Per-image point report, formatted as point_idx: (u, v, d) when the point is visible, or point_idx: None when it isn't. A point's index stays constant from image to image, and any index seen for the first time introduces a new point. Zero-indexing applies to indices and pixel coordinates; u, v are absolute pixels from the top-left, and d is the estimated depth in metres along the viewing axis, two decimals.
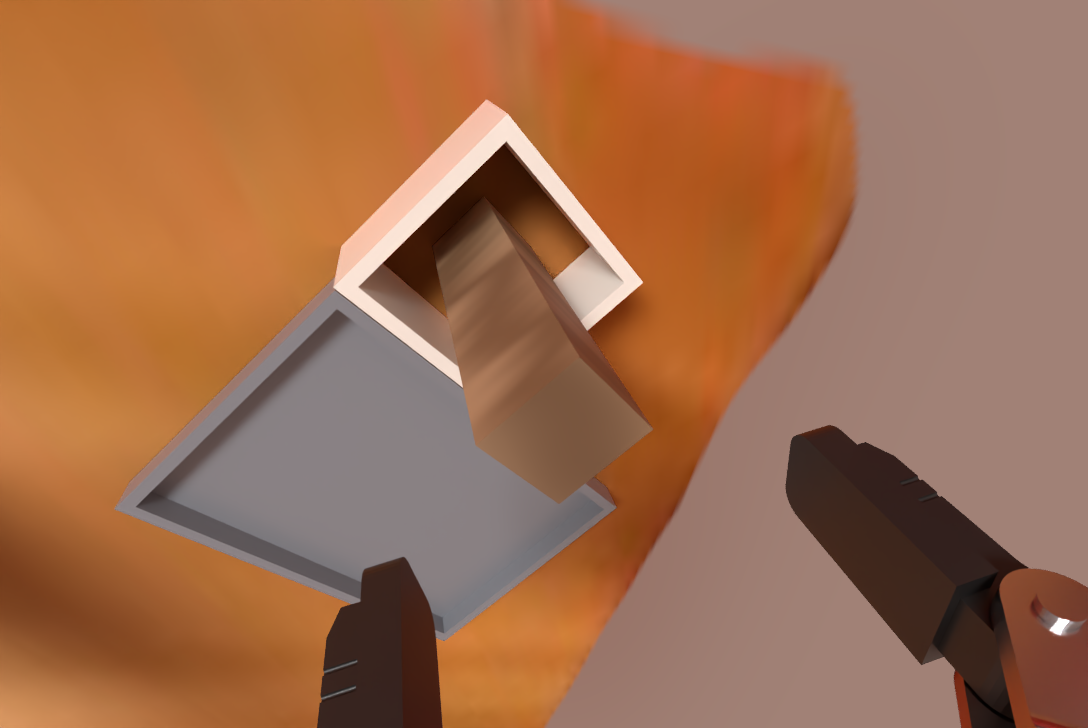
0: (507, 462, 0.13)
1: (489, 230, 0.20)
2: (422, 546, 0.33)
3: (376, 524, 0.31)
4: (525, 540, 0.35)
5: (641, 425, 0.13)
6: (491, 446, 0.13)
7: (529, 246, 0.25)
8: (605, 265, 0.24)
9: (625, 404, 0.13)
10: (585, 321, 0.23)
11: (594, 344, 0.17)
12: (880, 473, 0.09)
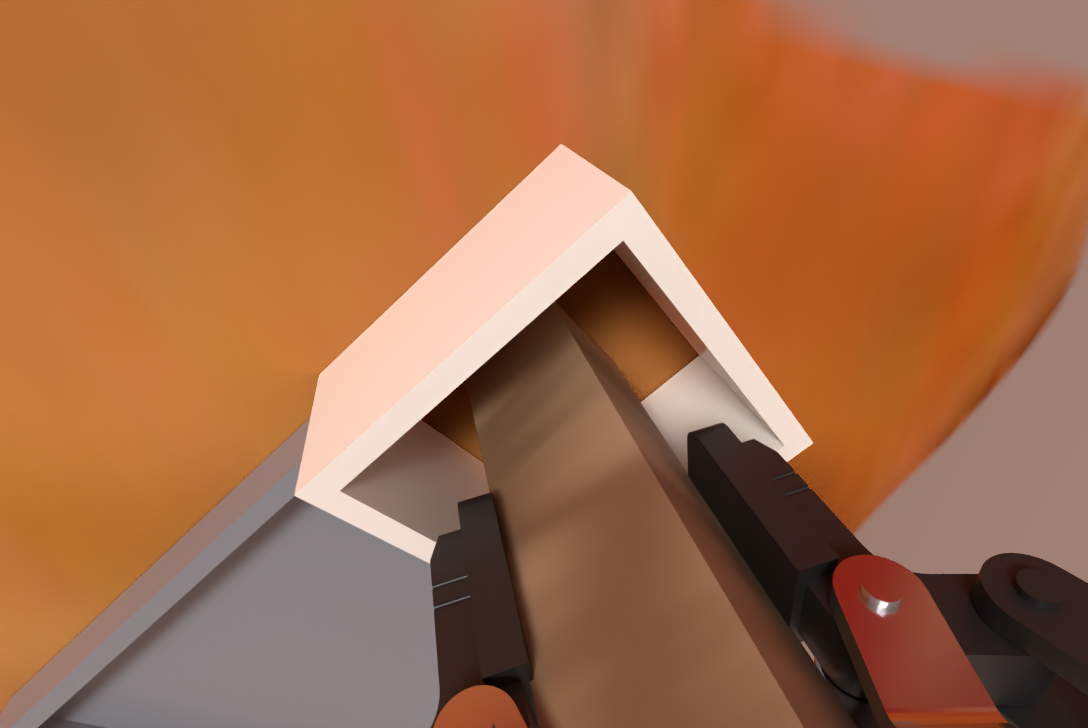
0: None
1: (571, 378, 0.12)
2: None
3: (376, 715, 0.22)
4: None
5: None
6: None
7: (613, 363, 0.16)
8: (736, 399, 0.15)
9: None
10: None
11: (824, 684, 0.08)
12: (754, 467, 0.10)
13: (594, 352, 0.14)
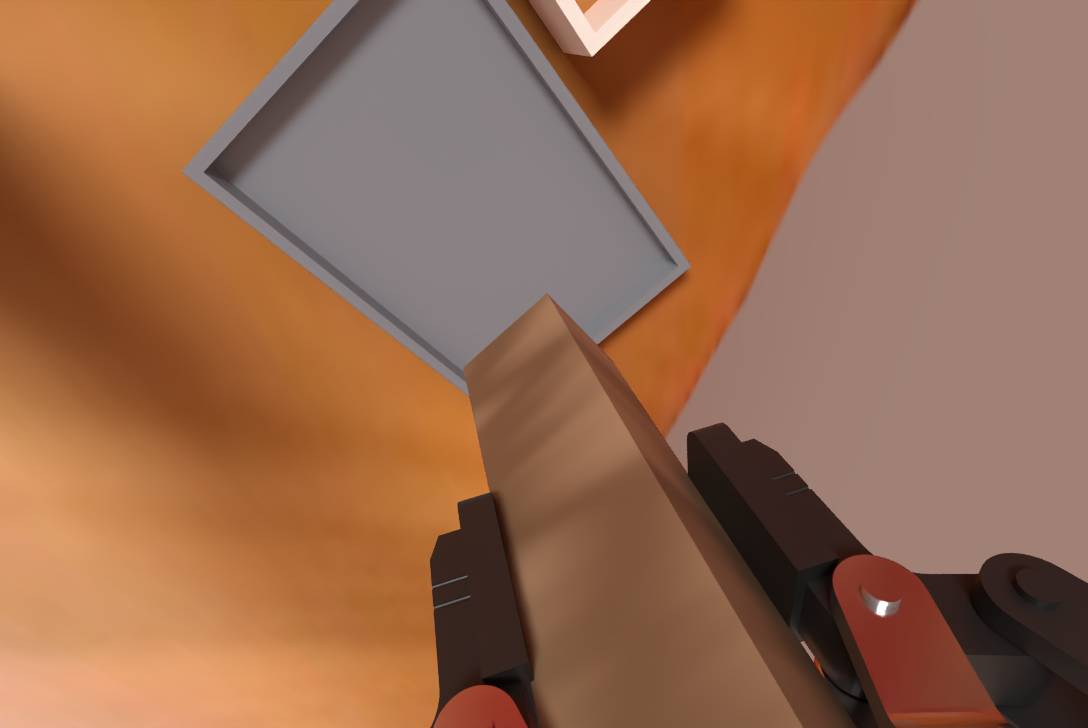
0: None
1: (571, 378, 0.12)
2: (487, 298, 0.31)
3: (443, 259, 0.29)
4: (592, 309, 0.33)
5: None
6: None
7: (613, 364, 0.16)
8: None
9: None
10: None
11: (824, 684, 0.08)
12: (754, 467, 0.10)
13: (594, 353, 0.14)
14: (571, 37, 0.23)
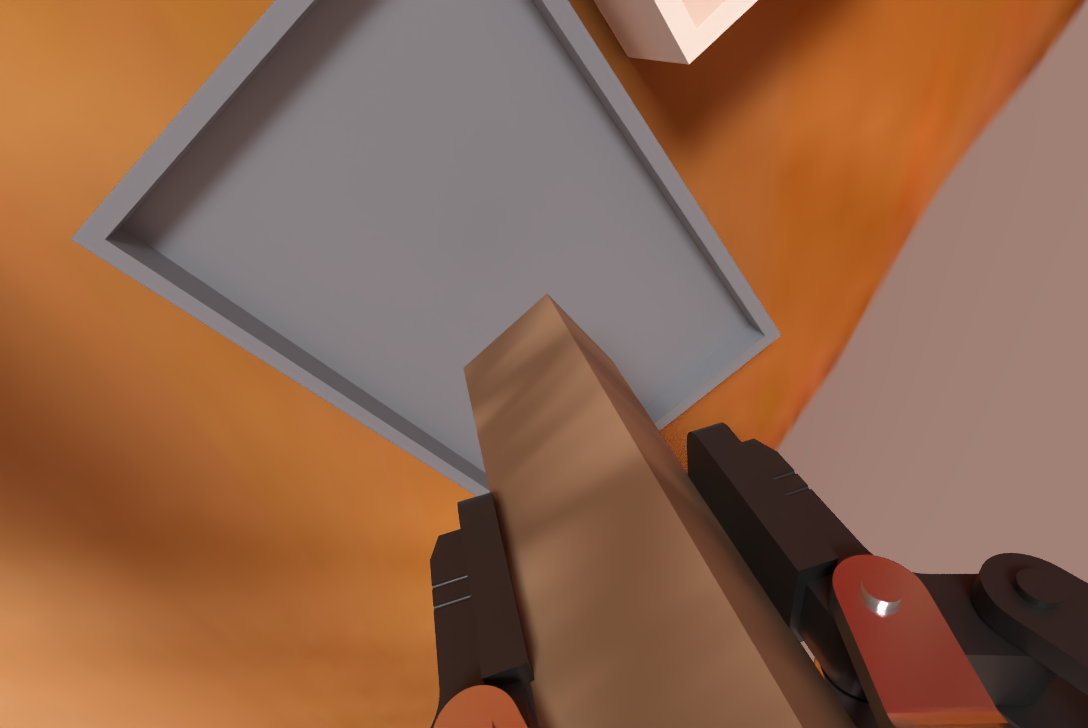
0: None
1: (571, 379, 0.12)
2: None
3: (457, 337, 0.22)
4: (648, 388, 0.26)
5: None
6: None
7: (613, 364, 0.16)
8: None
9: None
10: None
11: (824, 685, 0.08)
12: (755, 467, 0.10)
13: (594, 353, 0.14)
14: (654, 35, 0.15)
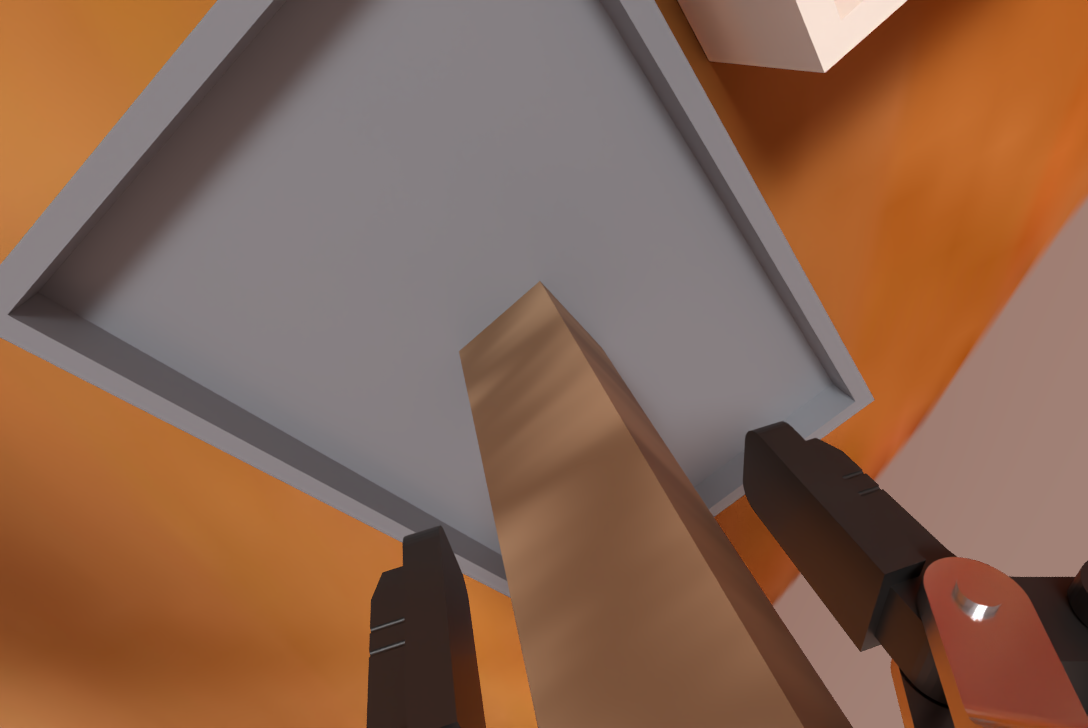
0: None
1: (560, 358, 0.12)
2: None
3: None
4: (707, 459, 0.21)
5: None
6: None
7: (602, 350, 0.17)
8: None
9: None
10: None
11: (787, 633, 0.09)
12: (824, 467, 0.10)
13: (584, 337, 0.15)
14: (768, 31, 0.11)
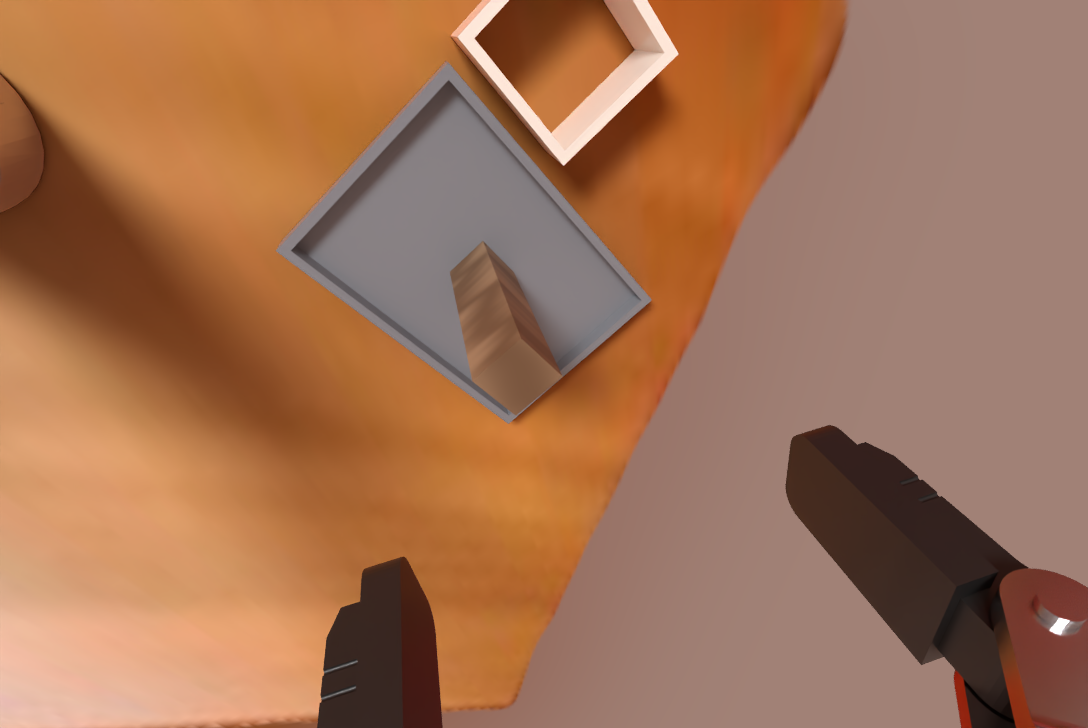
0: (487, 390, 0.26)
1: (484, 265, 0.34)
2: None
3: None
4: (576, 333, 0.42)
5: (555, 374, 0.27)
6: (480, 382, 0.26)
7: (512, 272, 0.38)
8: (648, 52, 0.31)
9: (546, 362, 0.26)
10: (634, 86, 0.30)
11: (540, 334, 0.30)
12: (880, 473, 0.09)
13: (499, 262, 0.36)
14: (549, 150, 0.32)
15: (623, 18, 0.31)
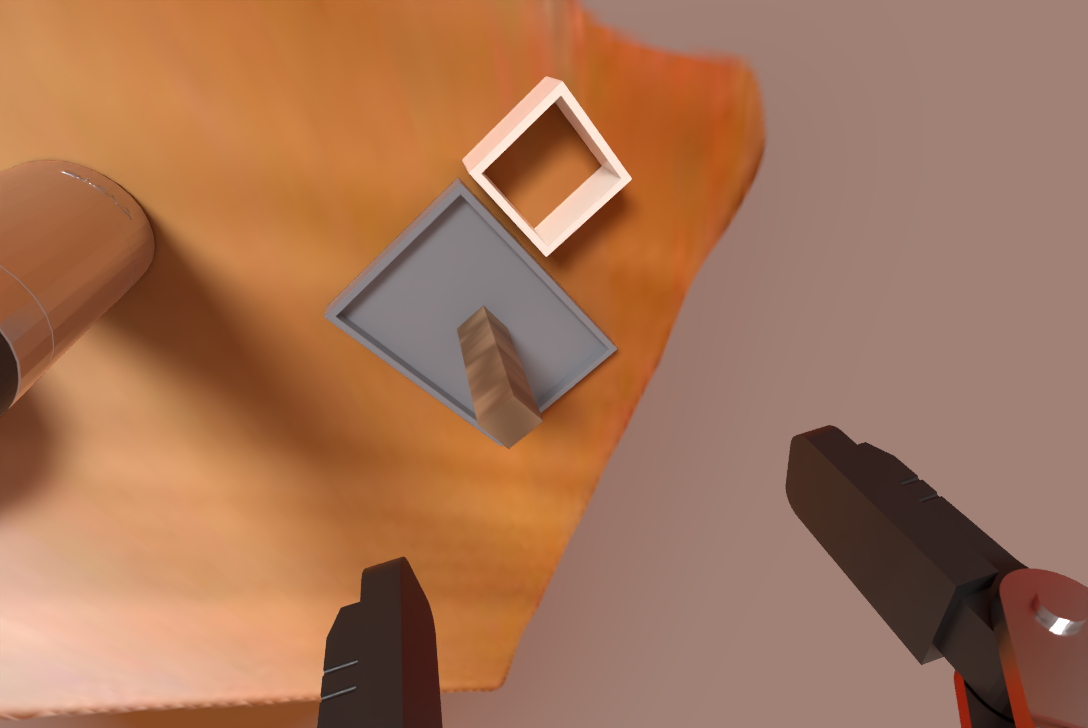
0: (489, 431, 0.36)
1: (485, 328, 0.44)
2: None
3: None
4: (556, 374, 0.53)
5: (538, 419, 0.37)
6: (483, 425, 0.36)
7: (506, 328, 0.48)
8: (611, 173, 0.42)
9: (531, 411, 0.36)
10: (599, 201, 0.40)
11: (527, 386, 0.40)
12: (880, 473, 0.09)
13: (496, 323, 0.46)
14: None
15: (592, 148, 0.41)
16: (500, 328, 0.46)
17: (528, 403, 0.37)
